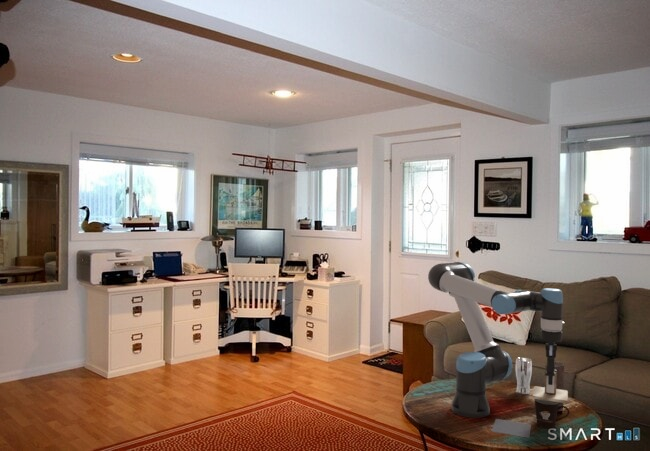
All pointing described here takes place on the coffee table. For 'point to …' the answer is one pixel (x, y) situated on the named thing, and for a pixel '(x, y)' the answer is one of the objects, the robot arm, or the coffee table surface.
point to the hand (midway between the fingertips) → (550, 390)
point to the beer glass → (523, 375)
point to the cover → (556, 396)
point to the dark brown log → (559, 378)
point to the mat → (512, 428)
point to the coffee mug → (547, 413)
